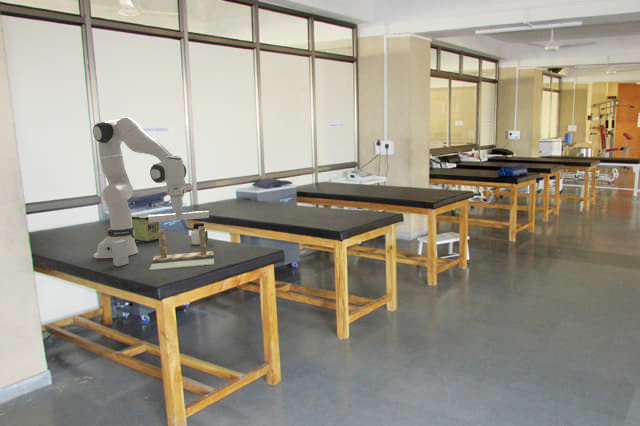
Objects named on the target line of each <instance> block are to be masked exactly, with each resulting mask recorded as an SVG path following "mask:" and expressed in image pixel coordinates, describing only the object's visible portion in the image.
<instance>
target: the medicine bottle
mask: <svg viewBox="0 0 640 426" xmlns="http://www.w3.org/2000/svg"><path fill="white" fill-rule="evenodd" d="M192 226H193V231H191V232H190V237H191V244H192V245H200V240H199V227H201V226H205V223H204V222H201V221H200V222H198V221H197V222H195V223H193V224H192ZM205 240H206V244H207V243H208V242H209V235H208V230H207V229H205Z"/></svg>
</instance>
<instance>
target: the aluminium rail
mask: <svg viewBox="0 0 640 426" xmlns="http://www.w3.org/2000/svg"><path fill="white" fill-rule="evenodd" d="M209 218H210V212H209V210H200V211H189V212H186V211H185V212H181V219H177V216H176V212H173V213H164V214H163V213H162V214H154V215H149V216H148V220H149V223H151V222H160V223H161V222H172V221H175V222H176V221H186V220H196V219H197V220H198V219H209Z"/></svg>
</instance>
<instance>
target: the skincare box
mask: <svg viewBox="0 0 640 426" xmlns="http://www.w3.org/2000/svg"><path fill="white" fill-rule="evenodd" d="M111 244H112V253H113V258H112V262H113V266H115V267H120V266H121V267H122V266H125V265H129V264H130V263H129V256H128V250H127V241H126V240H119V241H115V242H111Z"/></svg>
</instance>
